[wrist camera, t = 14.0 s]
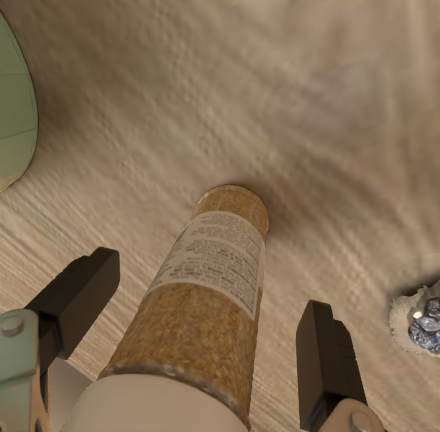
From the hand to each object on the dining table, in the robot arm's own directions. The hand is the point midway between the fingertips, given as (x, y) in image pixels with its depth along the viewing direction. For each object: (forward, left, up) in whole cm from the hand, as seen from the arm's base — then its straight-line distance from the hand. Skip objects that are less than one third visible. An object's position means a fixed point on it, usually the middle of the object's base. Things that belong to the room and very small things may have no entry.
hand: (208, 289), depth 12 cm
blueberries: (+10, +11, -6) cm, 16 cm away
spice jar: (0, 0, -6) cm, 6 cm away
